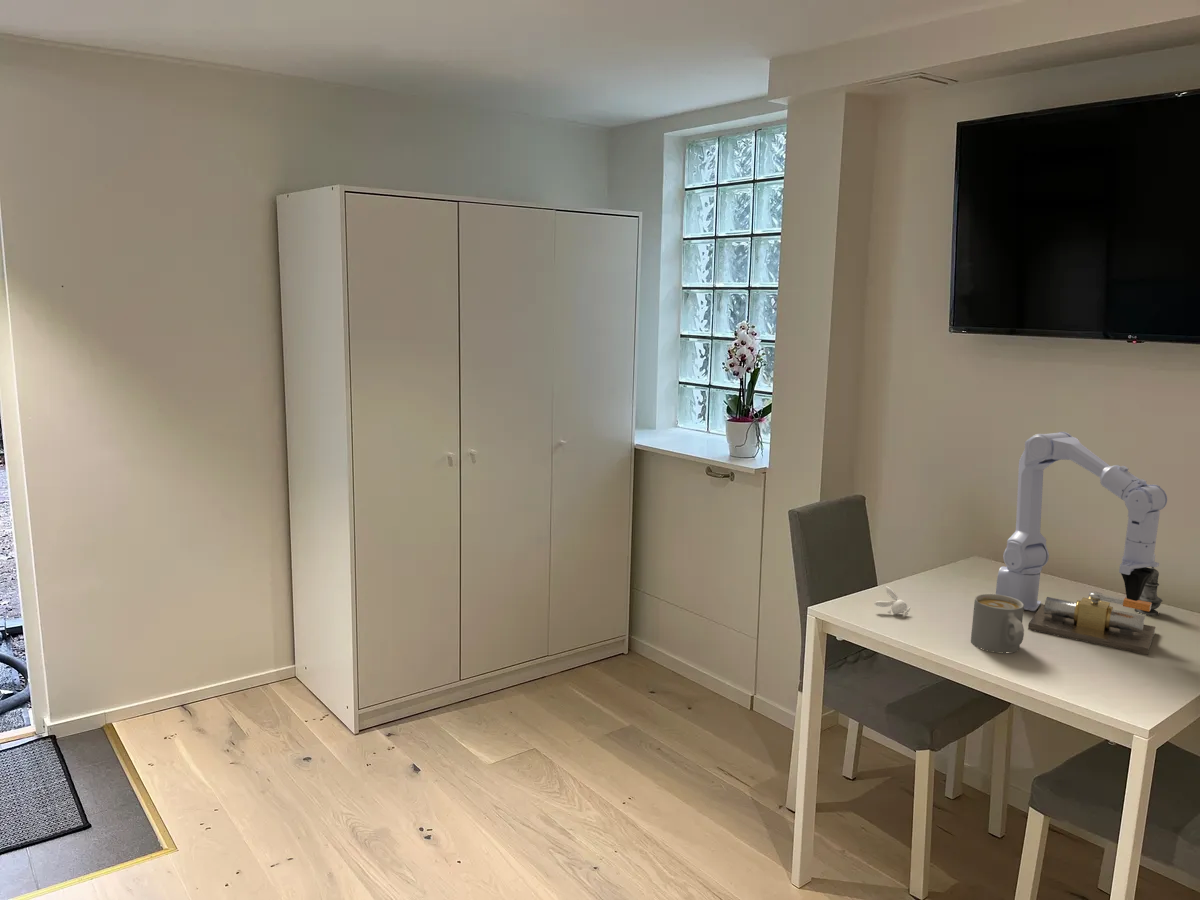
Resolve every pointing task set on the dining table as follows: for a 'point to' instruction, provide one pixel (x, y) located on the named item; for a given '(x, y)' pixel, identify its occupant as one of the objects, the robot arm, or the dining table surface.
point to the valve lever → (1121, 601)
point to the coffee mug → (997, 623)
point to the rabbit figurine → (894, 603)
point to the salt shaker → (1151, 594)
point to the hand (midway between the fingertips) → (1132, 599)
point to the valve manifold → (1094, 624)
